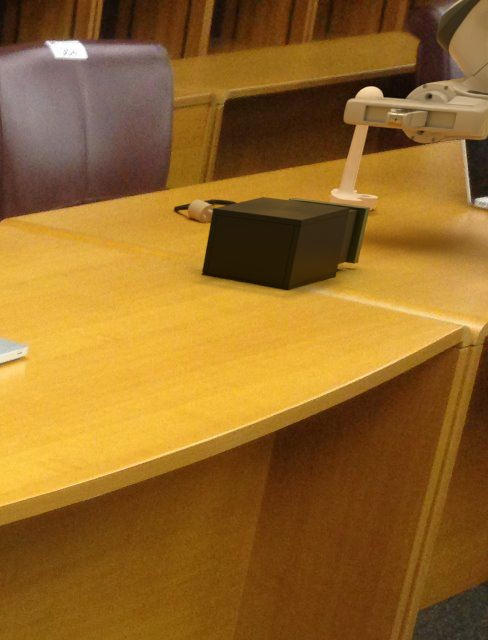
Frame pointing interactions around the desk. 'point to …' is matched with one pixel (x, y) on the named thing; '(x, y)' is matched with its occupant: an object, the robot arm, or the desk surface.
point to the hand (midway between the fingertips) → (395, 119)
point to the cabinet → (275, 242)
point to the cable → (202, 209)
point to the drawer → (349, 230)
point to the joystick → (355, 164)
